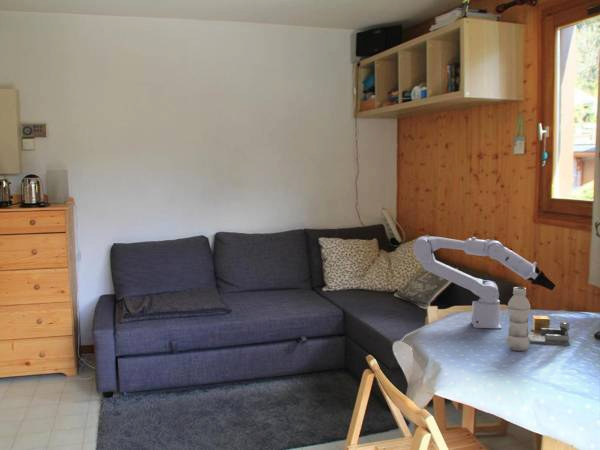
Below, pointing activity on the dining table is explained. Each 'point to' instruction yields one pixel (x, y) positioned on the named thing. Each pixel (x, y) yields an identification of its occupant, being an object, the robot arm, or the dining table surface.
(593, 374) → the dining table surface
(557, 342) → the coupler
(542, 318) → the block
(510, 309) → the plastic bottle
